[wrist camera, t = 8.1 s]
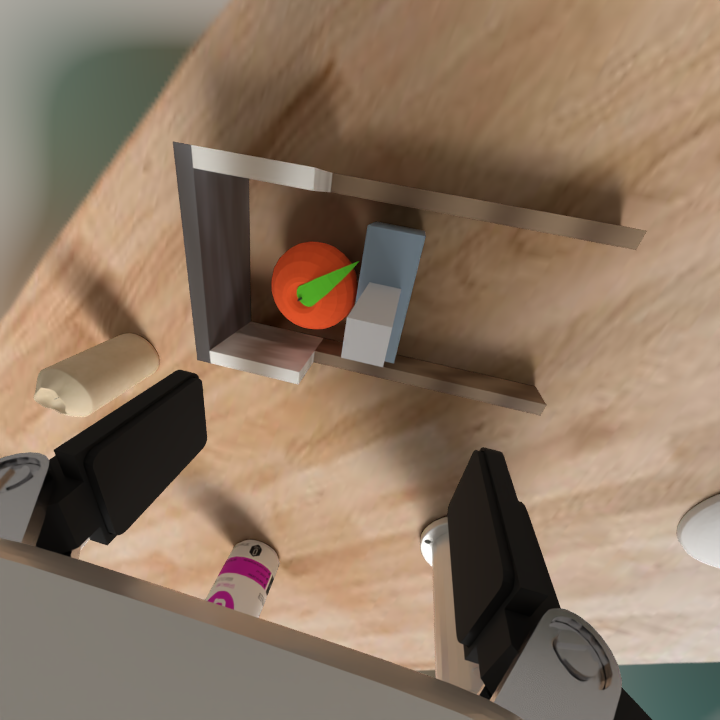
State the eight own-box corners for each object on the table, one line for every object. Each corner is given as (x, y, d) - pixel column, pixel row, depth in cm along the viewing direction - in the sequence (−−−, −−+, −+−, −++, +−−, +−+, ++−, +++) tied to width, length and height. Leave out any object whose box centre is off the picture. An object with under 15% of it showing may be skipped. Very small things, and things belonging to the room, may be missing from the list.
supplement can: (228, 536, 51) (162, 651, 38) (272, 538, 49) (218, 661, 36) (245, 565, 55) (190, 680, 42) (287, 568, 53) (242, 690, 40)
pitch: (620, 227, 22) (695, 237, 16) (529, 396, 30) (557, 447, 24) (234, 156, 25) (172, 141, 19) (240, 329, 32) (197, 359, 26)
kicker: (425, 230, 24) (427, 254, 14) (397, 342, 29) (383, 423, 19) (376, 221, 25) (341, 237, 14) (357, 332, 30) (320, 407, 19)
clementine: (347, 212, 25) (322, 217, 19) (388, 286, 27) (378, 311, 21) (276, 263, 28) (235, 281, 22) (318, 325, 30) (291, 357, 24)
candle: (123, 368, 38) (33, 419, 29) (112, 327, 35) (9, 370, 26) (163, 378, 37) (85, 432, 29) (155, 337, 35) (66, 384, 26)
